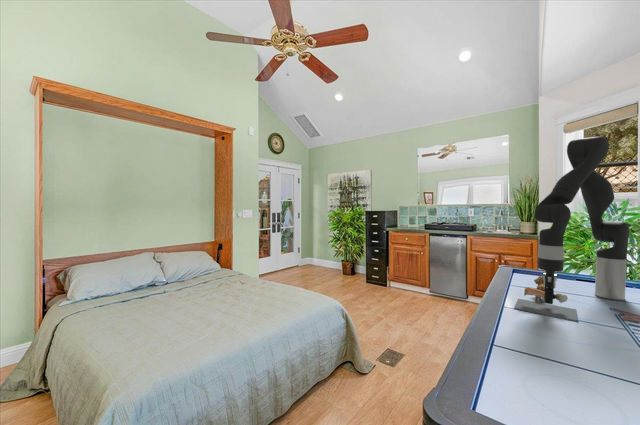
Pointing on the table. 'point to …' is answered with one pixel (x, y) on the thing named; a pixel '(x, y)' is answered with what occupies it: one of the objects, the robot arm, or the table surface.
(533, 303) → the mat
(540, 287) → the lion figurine
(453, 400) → the table surface
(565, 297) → the grandmother figurine
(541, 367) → the table surface
